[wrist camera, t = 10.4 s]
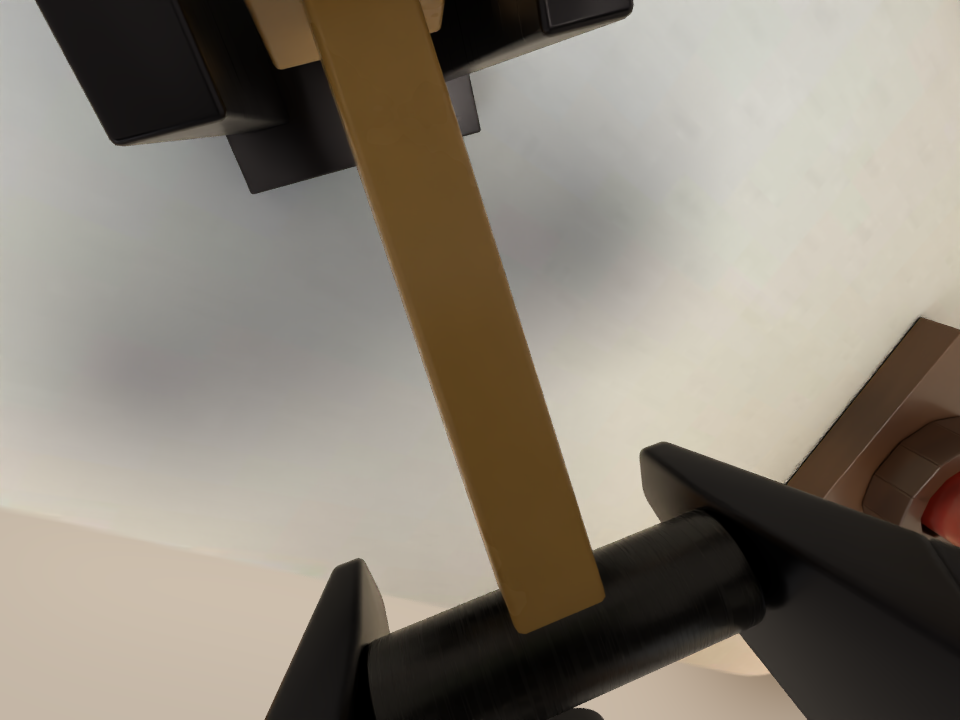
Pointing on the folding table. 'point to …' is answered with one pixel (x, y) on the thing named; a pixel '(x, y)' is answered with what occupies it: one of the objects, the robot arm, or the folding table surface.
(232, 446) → the folding table surface
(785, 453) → the folding table surface
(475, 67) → the switch bracket
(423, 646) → the hammer
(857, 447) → the box
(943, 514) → the power button
